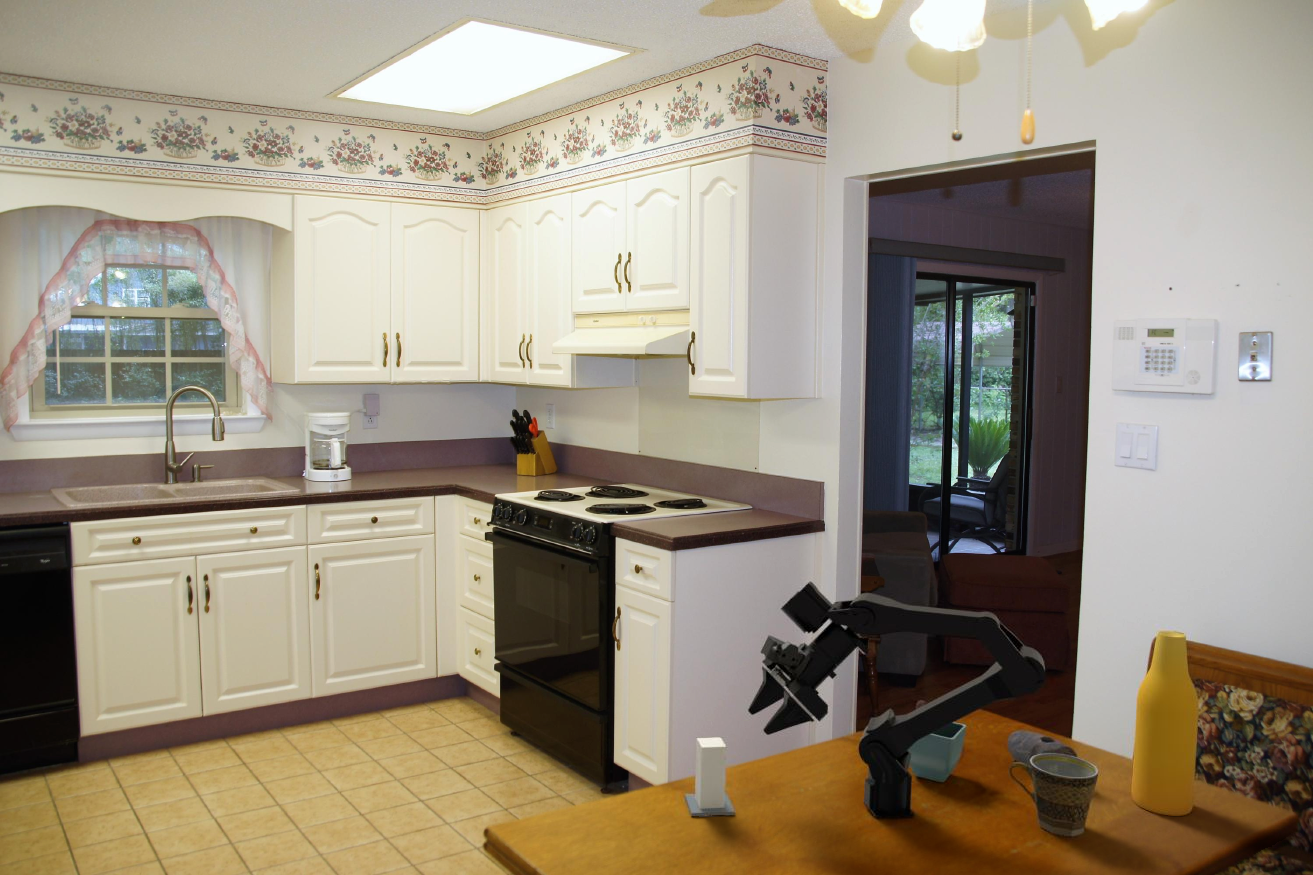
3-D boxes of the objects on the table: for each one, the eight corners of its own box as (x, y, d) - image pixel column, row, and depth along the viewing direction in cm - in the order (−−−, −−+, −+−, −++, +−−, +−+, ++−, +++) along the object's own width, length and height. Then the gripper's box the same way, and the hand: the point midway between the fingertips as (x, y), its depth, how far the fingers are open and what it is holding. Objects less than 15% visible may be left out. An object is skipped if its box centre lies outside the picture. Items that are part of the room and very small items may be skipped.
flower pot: (965, 773, 175) (967, 724, 175) (951, 790, 168) (953, 738, 167) (916, 761, 180) (918, 713, 180) (900, 777, 173) (903, 727, 172)
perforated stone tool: (997, 757, 184) (999, 720, 183) (1020, 754, 185) (1022, 718, 185) (1055, 789, 170) (1057, 750, 169) (1079, 785, 171) (1081, 747, 171)
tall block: (718, 796, 161) (720, 737, 161) (724, 807, 157) (726, 746, 157) (694, 797, 161) (696, 738, 160) (700, 808, 157) (701, 747, 156)
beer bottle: (1206, 813, 161) (1216, 639, 159) (1161, 819, 158) (1171, 642, 157) (1161, 790, 170) (1171, 625, 168) (1118, 796, 167) (1127, 628, 165)
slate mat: (726, 796, 163) (726, 792, 163) (734, 815, 156) (734, 811, 156) (684, 797, 162) (684, 793, 162) (691, 816, 155) (691, 812, 155)
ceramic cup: (1091, 819, 158) (1095, 758, 157) (1097, 846, 149) (1101, 782, 148) (1006, 805, 162) (1009, 746, 162) (1007, 831, 153) (1010, 768, 152)
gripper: (775, 606, 169) (711, 671, 167) (811, 635, 150) (738, 708, 149) (818, 650, 170) (754, 715, 169) (858, 684, 152) (786, 757, 151)
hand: (757, 722), depth 160 cm, fingers open, 9 cm apart
